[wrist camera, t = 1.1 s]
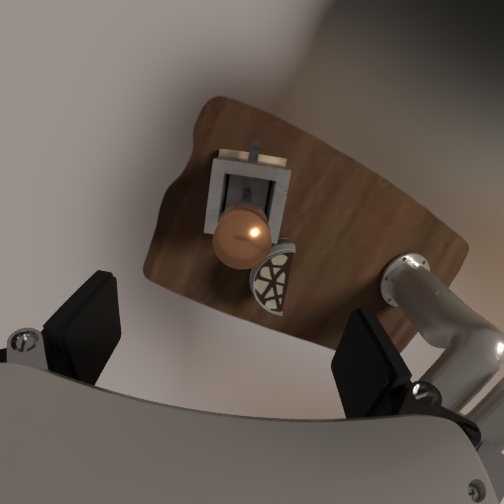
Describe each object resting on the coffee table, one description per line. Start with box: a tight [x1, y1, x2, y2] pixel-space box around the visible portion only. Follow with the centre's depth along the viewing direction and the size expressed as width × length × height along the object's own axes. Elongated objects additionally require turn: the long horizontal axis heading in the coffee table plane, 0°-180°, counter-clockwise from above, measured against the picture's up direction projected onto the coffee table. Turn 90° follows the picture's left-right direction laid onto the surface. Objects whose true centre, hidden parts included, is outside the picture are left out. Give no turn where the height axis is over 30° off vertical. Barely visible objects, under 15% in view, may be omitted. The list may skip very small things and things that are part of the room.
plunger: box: [213, 174, 272, 270], centre depth 29 cm, size 5×5×20 cm
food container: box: [249, 237, 296, 316], centre depth 48 cm, size 12×6×10 cm, turn 173°
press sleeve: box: [204, 140, 291, 244], centre depth 39 cm, size 9×12×14 cm
